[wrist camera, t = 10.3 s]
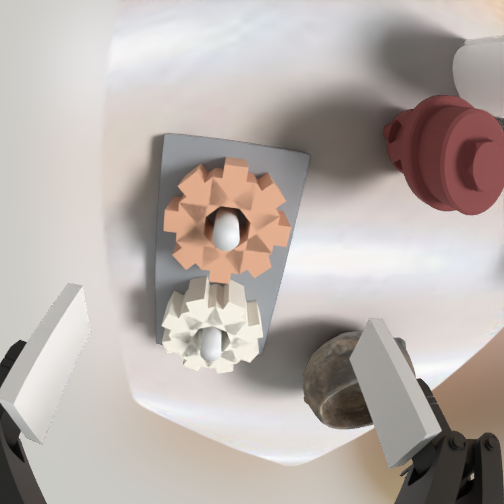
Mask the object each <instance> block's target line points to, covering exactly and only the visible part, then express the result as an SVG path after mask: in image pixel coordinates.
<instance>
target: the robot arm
mask: <svg viewBox="0 0 504 504" xmlns="http://www.w3.org/2000/svg"><path fill="white" fill-rule="evenodd" d="M90 333H91V329H90V324H89V319H88V314H87V308H86V303H85V296H84V291H83V286H82V285H77V284H71V283H68V284H67V286H66V287H65V288H64V290H63V291H62V292H61V294H60V295H59V296H58V298H57V299H56V301H55V302H54V303H53V305H52V306H51V308H50V309H49V310H48V312H47V313H46V315H45V316H44V318H43V319H42V321H41V322H40V324H39V325H38V327H37V328H36V330H35V331H34V333H33V334H32V336H31V337H30V339H29V340H28V342H25V341H21V340H19V341H18V342H16V343H15V344H14V345H13V346H11V347H10V349H9V350H8V352H7V354H6V355H5V358H3V360H2V362H1V363H0V504H47V503H46V501H45V499H44V497H43V495H42V493H41V490H40V488H39V486H38V484H37V482H36V479H35V477H34V475H33V472H32V470H31V467H30V465H29V463H28V460H27V457H26V455H25V452H24V449H23V446H22V443H21V441H20V439H19V434H20V432H22V433H23V434H24V435H25V437H26V438H28V439H30V440H32V441H34V442H37V443H39V444H42V445H43V443H44V440H45V437H46V434H47V432H48V429H49V426H50V424H51V421H52V419H53V416H54V414H55V411H56V408H57V406H58V403H59V401H60V399H61V396H62V394H63V391H64V389H65V387H66V384H67V382H68V380H69V377H70V375H71V373H72V371H73V369H74V366H75V364H76V362H77V360H78V358H79V356H80V353H81V351H82V349H83V347H84V345H85V343H86V341H87V339H88V337H89V335H90ZM349 359H350V362H351V364H352V367H353V370H354V372H355V375H356V377H357V380H358V383H359V385H360V388H361V391H362V393H363V396H364V399H365V401H366V404H367V407H368V410H369V412H370V415H371V418H372V421H373V424H374V426H375V429H376V432H377V435H378V438H379V441H380V444H381V447H382V450H383V452H384V455H385V458H386V461H387V465H388V468H389V469H390V468H393V467H397V466H402V465H404V464H405V463H407V462H408V461H409V460H410V459H411V458H412V461H413V464H412V465H411V466H409V467H408V468H407V469H406V470H404V471H403V472H402V473H401V475H400V476H403V475H404V474H406V473H407V472H408V473H407V476H406V477H405V480H404V483H403V485H402V488H401V490H400V492H399V495H398V497H397V499H396V501H395V504H504V487H503V469H502V458H501V449H500V443H499V440H498V439H497V437H496V436H495V435H494V434H492V433H484V434H483V435H482V436H481V437H480V438H478V439H465V437H464V436H463V435H462V434H461V433H459V432H457V431H451V429H450V427H449V425H448V423H447V421H446V419H445V417H444V415H443V413H442V411H441V409H440V407H439V405H438V404H437V401H436V399H435V398H434V397H433V394H432V392H431V390H430V388H429V386H428V385H427V384H426V383H425V382H424V381H423V380H422V379H421V378H420V379H416V378H415V376H414V374H413V372H412V370H411V369H410V367H409V365H408V363H407V361H406V359H405V358H404V356H403V354H402V352H401V350H400V349H399V347H398V345H397V343H396V341H395V340H394V338H393V336H392V334H391V333H390V331H389V329H388V328H387V326H386V324H385V322H384V321H383V319H372V318H369V320H368V322H367V324H366V327H365V329H364V331H363V333H362V335H361V337H360V339H359V341H358V343H357V345H356V347H355V349H354V351H353V353H352V355H351V357H350V358H349ZM473 473H474V479H473V480H471V478H470V475H472V474H473Z"/></svg>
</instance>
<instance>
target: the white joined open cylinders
mask: <svg viewBox="0 0 504 504" xmlns="http://www.w3.org/2000/svg"><path fill="white" fill-rule="evenodd" d="M464 45H465V46H462V47H461V48H459V49H458V50H457V52H456V54H455V56H454V59H453V68H452V69H453V78H454V83H455V86H456V89H457V92H458V94H459V96H460V98H462V99H464V100H466V101H467V102H468V103H470V104H471V105H472V106H473V107H474V108H476V109H482V110H484V111H487V112H488V113H490V114H491V115H492V116H493V117H499V118H504V36H496V37H486V38H477V39H470V40H465V41H464Z"/></svg>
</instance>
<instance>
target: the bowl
mask: <svg viewBox="0 0 504 504" xmlns="http://www.w3.org/2000/svg"><path fill="white" fill-rule="evenodd" d="M362 333H363V331H352V332H346V333H342V334H340V335H338V336H336V337H335V338H332V339H330V340H329V341H328V342H326V343H325V344H323V345H322V346H321V347H320V348H318V349H317V350H316V351H315V352H314V354H313V355H312V356H311V358H310V359H309V361H308V363H307V366H306V368H305V372H304V374H303V391H304V395H305V396H304V401H305V402H306V403H307V404H308V405H309V406H310V408H311V409H312V411H313V412H314V414H315V415H316V416H317V418H318V419H319V420H320V421H321V422H322V423H323V424H325V425H327V426H329V427H331V428H335V429H355V428H360V427H365V426H369V425H373V421H372V418H371V415H370V412H369V410H368V407H367V404H366V401H365V399H364V396H363V393H362V391H361V388H360V385H359V383H358V380H357V377H356V375H355V372H354V370H353V367H352V364H351V362H350V359H349V358H350V357H351V355H352V353H353V351H354V349H355V347H356V345H357V343H358V341H359V339H360V337H361V335H362ZM394 340H395V341H396V343H397V345H398V347H399V349H400V350H401V352H402V354H403V356H404V358H405V359H406V361H407V363H408V365H409V367H410V369H411V370H412V372H413V374H414V376H415V371H414V368H413V365H412V362H411V359H410V357H409V355H408V353H407V351H406V343H405V341H404V340H402V339H401V338H394ZM415 378H416V376H415Z"/></svg>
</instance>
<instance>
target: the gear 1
mask: <svg viewBox="0 0 504 504" xmlns="http://www.w3.org/2000/svg"><path fill="white" fill-rule="evenodd" d="M178 187H179V188H180V190H181V191H182V192H183V193H184V195H183V197H176V196H174V197H173V198H172V200H171V201H170V203H169V204H168V206H167V208H166V209H165V215H164V231H167V232H175V233H177V234H176V242H177V244H176V246H175V249H174V252H173V254H172V255H173V256H174V257H175V259H176V260H177V261H178V262H179V263H180V264H181V265H182V266H183V267H184V268H185V269H186V270H187V269H188V268H190V267H191V266H192V265H194V264H195V263H196V264H197V265H198V266H199V267H200V269H201V270H209V271H210V276H209V282H217V283H226V284H229V283H230V277H231V273H234V274H241V273H242V272H244V271H246V270H248V271H249V273H250V274H251V275H252V276H253V277H254V278H256V277H257V276H259V275H260V274H262V273H264V272H265V271H267V270H268V269H270V268H271V263H270V259H269V255H270V254H272V251H273V246H274V245H276V246H283V247H287V243H288V239H289V234H290V230H291V225H290V223H289V221H288V219H287V217H286V215H285V213H284V211H279V210H277V207H278V206H280V205H281V204H283V203H284V202H286V200H285V198H284V196H283V195H282V193H281V191H280V189H279V188H278V186H277V185H276V184H275V182H274V181H273V179H272V178H271V177H270V175H269V174H268V173H267V174H265V175H264V176H262V177H261V178H259V179H257V178H256V177H255V175H254V174H253V173H250V172H248V164H247V160H245V159H238V158H231V157H226V159H225V166H224V169H222V168H214V169H213V170H212V171H210V172H208V171H207V170H206V169H205V167H204V166H203V165H202V164H199V165H198V166H197V167H195V168H194V169H193V170H192V171H190V172H189V173H188V174H186V175H185V176H184V178H183V179H182V181H181V182H180V183H179V185H178ZM220 206H224V207H231V208H238V209H240V210H241V211H242V212H243V214H244V215H245V216H246V223H244V224H243V225H241V226H240V227H239V236H240V241H239V244H238V245H237V247H236V248H234V249H233V250H230V251H222V250H220V249H218V248H217V247H216V246H215V245H214V243H213V231H214V225H213V224H212V223H211V222H210V220H209V219H208V218H207V216H208V215H209V214H210V213H212V212H213V211H214V210H216V209H217V208H219V207H220Z"/></svg>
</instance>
